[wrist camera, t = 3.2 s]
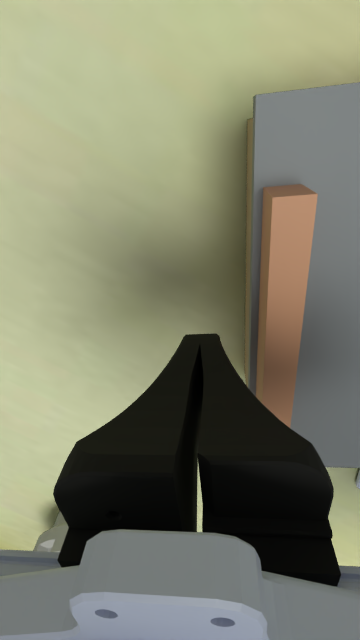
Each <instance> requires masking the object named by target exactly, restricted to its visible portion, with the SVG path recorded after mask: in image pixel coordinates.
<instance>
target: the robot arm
mask: <svg viewBox="0 0 360 640" xmlns="http://www.w3.org/2000/svg"><path fill="white" fill-rule="evenodd" d="M198 463H199V473H200V482H201V491H202V501H203V521H202V531H203V532H197V466H198ZM356 486H357V488H359V489H360V470H359V473H358V476H357V479H356ZM53 495H54V498H55V502H56V504H57V506H58V508H59V510H60V512H61V513H62V515H63V517H64V519H65V521H66V523H67V525H68V527H69V528H68V531H67V534H66V537H65V539H64V542H63V545H62V548H61V551H60V552H44V551H23V550H2V549H0V640H360V567H356V566H339V565H338V562H337V558H336V555H335V552H334V548H333V545H332V541H331V539H332V530H331V527H330V523H329V520H328V515H329V511H330V507H331V503H332V499H333V485H332V482H331V479H330V476H329V474H328V472H327V470H326V468H325V466H324V464H323V462H322V460H321V458H320V456H319V454H318V453H317V451H316V449H315V447H314V446H313V444H312V443H311V442H309V441H308V440H306V439H305V438H303V437H302V436H301V435H299V434H298V433H296V432H295V431H293V430H292V429H290V428H289V427H288V426H287V425H285V424H284V423H283V422H282V421H281V420H279V419H278V418H277V417H276V416H275V415H274V414H273V413H272V412H271V411H270V410H269V409H267V408H266V407H265V406H264V405H263V404H262V403H261V402H260V401H259V400H258V399H257V397H256V396H255V395H254V394H253V393H252V392H251V391H250V389H249V388H248V387H247V386H246V384H245V383H244V382H243V381H242V379H241V378H240V376H239V375H238V373H237V372H236V370H235V369H234V367H233V366H232V364H231V362H230V360H229V359H228V357H227V355H226V353H225V351H224V349H223V347H222V344H221V341H220V337H219V335H218V334H192V335H185V336H184V337H183V340H182V341H181V343H180V345H179V347H178V349H177V350H176V352H175V354H174V355H173V357H172V358H171V360H170V361H169V363H168V364H167V366H166V367H165V368H164V370H163V371H162V372H161V373H160V375H159V376H158V377H157V379H156V380H155V381H154V382H153V383H152V384H151V386H150V387H149V388H148V389H147V390H146V391H145V392H144V393H143V394H142V395H141V396H140V397H139V398H138V399H137V400H136V401H135V402H133V403H132V404H131V405H130V406H129V407H128V408H127V409H126V410H124V411H123V412H122V413H120V414H119V415H118V416H117V417H115V418H114V419H112V420H111V421H110V422H108V423H107V424H105V425H104V426H102V427H101V428H99V429H97V430H96V431H94V432H92V433H91V434H89V435H88V436H86V437H84V438H83V439H81V440H79V441H77V442H76V444H75V446H74V448H73V449H72V451H71V453H70V454H69V456H68V458H67V460H66V462H65V464H64V467H63V469H62V471H61V473H60V476H59V478H58V480H57V483H56V485H55V487H54V493H53Z"/></svg>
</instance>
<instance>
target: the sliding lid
mask: <svg viewBox="0 0 360 640" xmlns="http://www.w3.org/2000/svg"><path fill="white" fill-rule="evenodd" d="M248 388H249V389H250V391H251V392H252V393H253V394H254V395H255V396H256V397H257V399H258V400H259V401H260V402H261V403H262V404H263V405H264V406H265V407H266V408H267V409H269V410H270V411H271V412H272V413H273V414H274V415H275V416H276V417H277V418H278V419H279V420H281V421H282V422H283V423H284V424H285V425H287V426H288V427H289V428H290V429H292V430H293V431H295V432H296V433H298V434H299V435H301V436H302V437H303V438H305V439H306V440H308V441H309V442H311V443H312V444H313V446H314V447H315V449H316V451H317V453H318V454H319V456H320V458H321V460H322V462H323V464H324V466H325V467H345V468H360V82H359V83H351V84H342V85H334V86H326V87H317V88H309V89H301V90H292V91H284V92H276V93H267V94H259V95H255V96H254V97H253V145H252V199H251V253H250V307H249V361H248Z"/></svg>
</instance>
